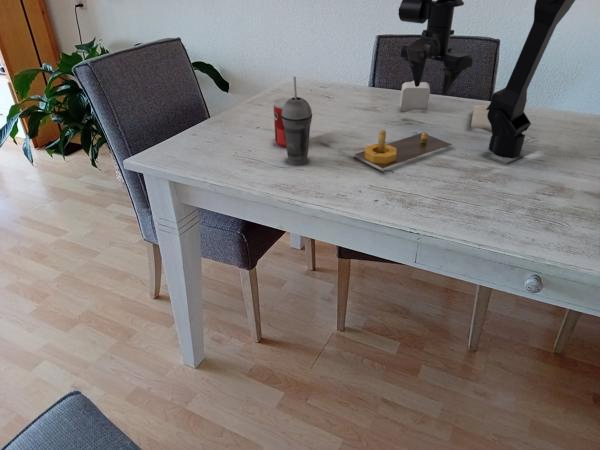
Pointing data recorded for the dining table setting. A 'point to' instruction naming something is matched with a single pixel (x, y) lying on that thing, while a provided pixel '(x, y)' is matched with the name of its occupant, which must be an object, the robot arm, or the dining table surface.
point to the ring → (380, 154)
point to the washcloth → (481, 118)
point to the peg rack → (406, 148)
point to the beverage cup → (297, 128)
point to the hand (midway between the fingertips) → (430, 90)
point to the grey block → (414, 96)
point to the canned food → (279, 121)
